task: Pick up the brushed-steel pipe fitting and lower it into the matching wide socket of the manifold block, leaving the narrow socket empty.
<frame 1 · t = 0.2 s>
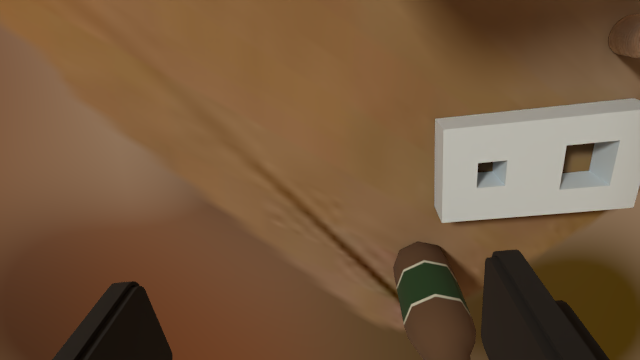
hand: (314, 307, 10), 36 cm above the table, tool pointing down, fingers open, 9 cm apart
manifold block: (526, 156, 47), on the table
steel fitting: (628, 34, 40), on the table
beer bottle: (419, 261, 55), on the table
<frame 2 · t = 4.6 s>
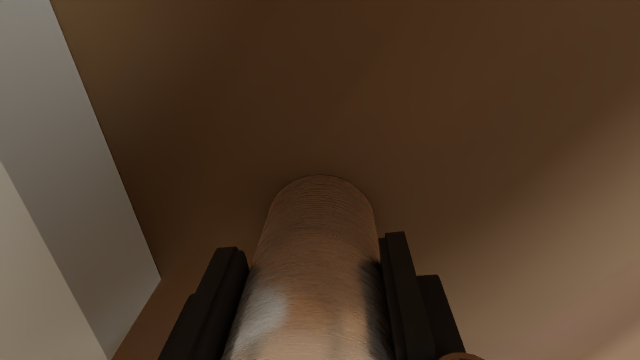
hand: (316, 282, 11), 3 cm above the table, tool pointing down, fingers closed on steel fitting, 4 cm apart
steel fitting: (320, 222, 14), on the table, touching gripper
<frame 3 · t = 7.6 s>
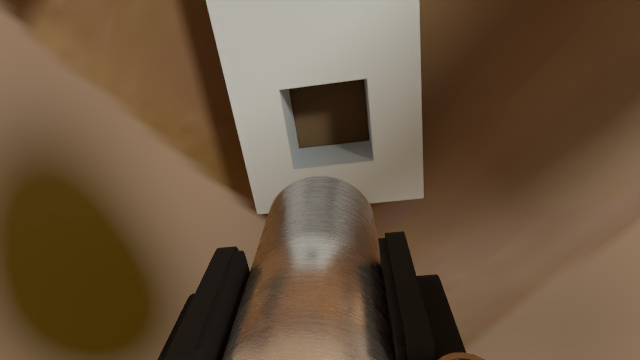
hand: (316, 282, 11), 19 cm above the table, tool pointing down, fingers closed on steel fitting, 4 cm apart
manifold block: (320, 39, 26), on the table
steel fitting: (321, 224, 14), point 16 cm above the table, touching gripper
when the fingers open (5 cm above the table, at t = 10.8 s): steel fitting drops 2 cm, resting in manifold block.
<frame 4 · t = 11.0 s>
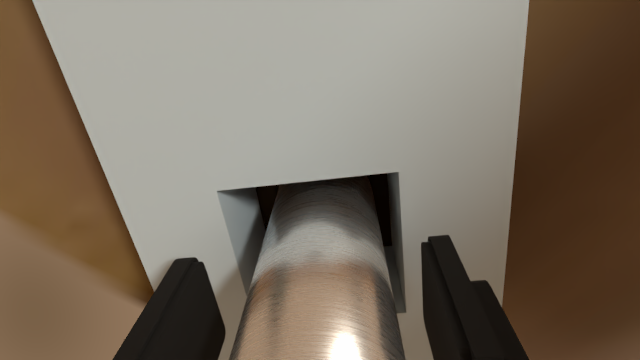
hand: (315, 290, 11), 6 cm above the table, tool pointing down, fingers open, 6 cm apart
manifold block: (304, 78, 14), on the table
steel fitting: (325, 197, 16), resting in manifold block
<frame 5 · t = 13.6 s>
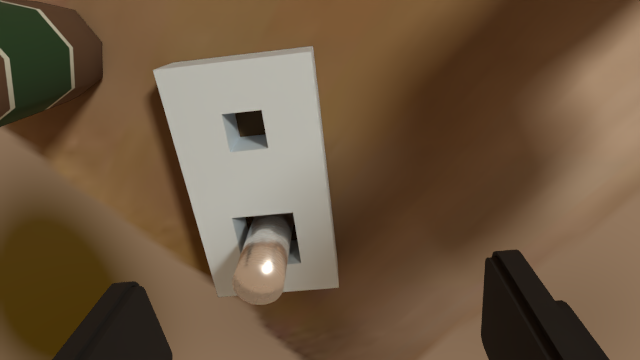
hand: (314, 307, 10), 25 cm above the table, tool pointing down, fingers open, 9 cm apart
manifold block: (264, 173, 37), on the table
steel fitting: (274, 218, 39), resting in manifold block
beer bottle: (63, 50, 32), on the table
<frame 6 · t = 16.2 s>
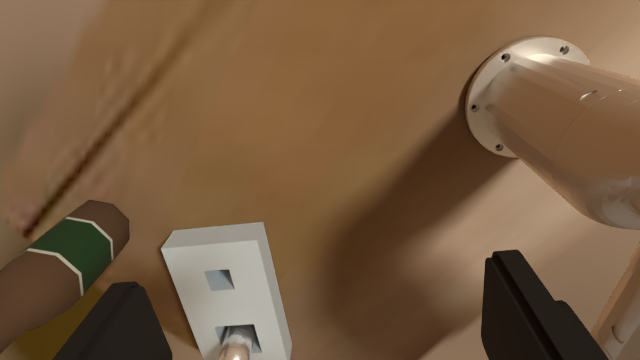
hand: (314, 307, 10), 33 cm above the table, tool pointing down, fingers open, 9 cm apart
manifold block: (237, 291, 54), on the table
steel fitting: (245, 317, 56), resting in manifold block
beer bottle: (104, 223, 50), on the table
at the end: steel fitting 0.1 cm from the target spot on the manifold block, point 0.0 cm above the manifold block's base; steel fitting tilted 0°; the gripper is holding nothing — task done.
